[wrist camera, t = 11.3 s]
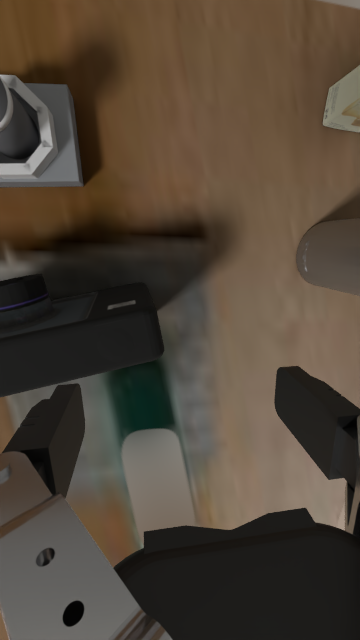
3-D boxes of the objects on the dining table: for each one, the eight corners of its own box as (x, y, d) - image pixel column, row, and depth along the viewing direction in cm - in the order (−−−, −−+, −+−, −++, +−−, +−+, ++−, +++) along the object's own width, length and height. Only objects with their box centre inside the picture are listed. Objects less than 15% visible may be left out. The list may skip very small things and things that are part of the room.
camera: (143, 254, 37) (149, 262, 23) (156, 323, 40) (168, 368, 26) (-36, 283, 35) (-153, 313, 21) (-9, 355, 38) (-96, 424, 24)
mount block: (73, 98, 32) (62, 73, 27) (83, 186, 34) (75, 177, 29) (-45, 95, 30) (-79, 67, 25) (-24, 187, 32) (-52, 178, 28)
